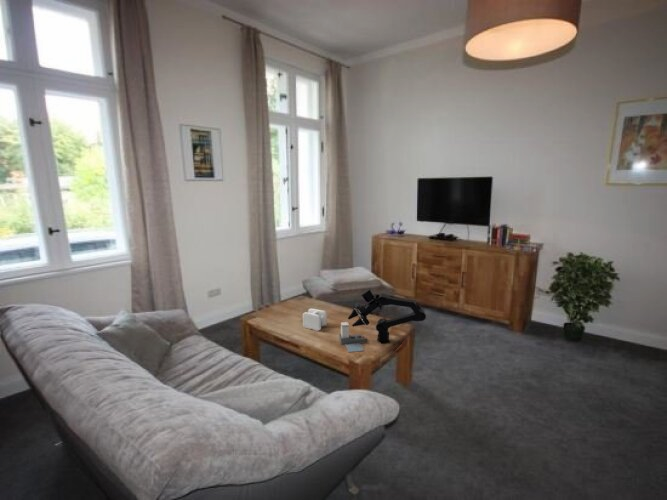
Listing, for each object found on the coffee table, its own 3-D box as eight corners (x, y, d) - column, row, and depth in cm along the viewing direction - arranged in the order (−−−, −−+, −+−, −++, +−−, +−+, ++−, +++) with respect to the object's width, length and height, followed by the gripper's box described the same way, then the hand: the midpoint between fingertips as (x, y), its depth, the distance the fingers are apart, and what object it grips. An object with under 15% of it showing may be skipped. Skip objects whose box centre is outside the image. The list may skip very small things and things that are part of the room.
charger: (347, 336, 229) (347, 322, 226) (349, 339, 224) (349, 324, 222) (341, 336, 228) (340, 322, 226) (342, 340, 224) (342, 325, 222)
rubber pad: (360, 343, 224) (360, 343, 224) (363, 350, 215) (363, 350, 215) (345, 344, 222) (345, 344, 222) (348, 352, 213) (348, 351, 213)
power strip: (363, 337, 232) (363, 332, 231) (365, 342, 226) (365, 336, 225) (339, 339, 229) (339, 334, 228) (341, 344, 223) (341, 338, 222)
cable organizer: (301, 327, 248) (301, 312, 246) (310, 322, 257) (309, 307, 255) (319, 332, 241) (319, 316, 239) (327, 326, 250) (327, 310, 248)
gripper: (359, 292, 228) (339, 306, 228) (368, 305, 211) (347, 321, 211) (367, 304, 232) (348, 318, 232) (377, 318, 215) (357, 333, 215)
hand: (350, 322), depth 222 cm, fingers open, 9 cm apart
